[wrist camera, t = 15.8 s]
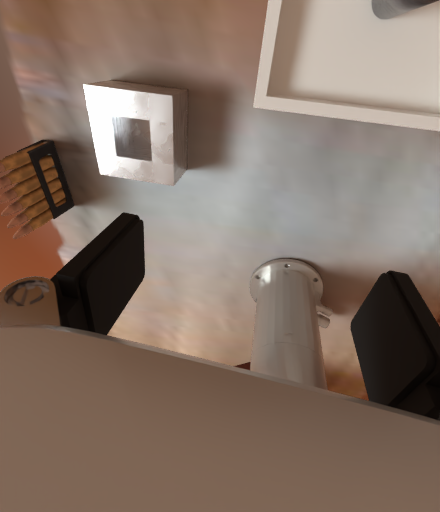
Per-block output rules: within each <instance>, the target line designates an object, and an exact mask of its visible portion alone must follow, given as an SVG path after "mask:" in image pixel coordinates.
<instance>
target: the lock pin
mask: <svg viewBox="0 0 440 512" xmlns="http://www.w3.org/2000/svg"><path fill="white" fill-rule="evenodd" d="M436 1H439V0H372V10H373V13H374V15H375V16H376V17H378V18H379V19H390V18H393V17H395V16H398V15H401V14H404V13H406V12H409V11H412V10H414V9H417V8H420V7H423V6H425V5H428V4H431V3H434V2H436Z"/></svg>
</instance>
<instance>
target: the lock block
mask: <svg viewBox="0 0 440 512" xmlns="http://www.w3.org/2000/svg"><path fill="white" fill-rule="evenodd" d="M84 91H85V96H86V102H87V107H88V112H89V118H90V123H91V129H92V134H93V139H94V145H95V150H96V156H97V161H98V166H99V172H100V174H102V175H108V176H114V177H121V178H127V179H133V180H140V181H146V182H152V183H159V184H165V185H171V186H174V185H175V184H176V183H177V182H178V180H179V179H180V178H181V177H182V175H183V174H184V173H185V172H186V170H187V118H188V90H186V89H178V88H170V87H162V86H154V85H146V84H138V83H130V82H122V81H114V80H108V81H102V82H96V83H90V84H84Z"/></svg>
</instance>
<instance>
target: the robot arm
mask: <svg viewBox="0 0 440 512" xmlns="http://www.w3.org/2000/svg"><path fill="white" fill-rule="evenodd" d="M144 275H145V259H144V226H143V221H142V220H140V219H139V216H138V215H134V214H129V213H122V214H121V215H120V216H119V217H117V218H116V219H115V220H114V221H113V222H112V223H111V224H110V225H109V226H108V227H107V228H105V229H104V230H103V231H102V232H101V233H100V234H99V235H98V236H97V237H96V238H95V239H93V240H92V241H91V242H90V243H89V244H88V245H87V246H86V247H85V248H84V249H82V250H81V251H80V252H79V253H78V254H77V255H76V256H75V257H74V258H73V259H72V260H70V261H69V262H68V263H67V264H66V265H65V266H64V267H63V268H62V269H61V270H60V271H58V272H57V273H56V275H55V276H54V277H52V278H51V279H48V278H44V277H36V276H34V277H26V278H23V279H19V280H17V281H15V282H12V283H10V284H9V285H7V286H6V287H4V288H3V289H2V291H1V292H0V512H440V327H439V325H438V323H437V322H436V320H435V318H434V317H433V315H432V313H431V312H430V310H429V308H428V307H427V305H426V303H425V302H424V300H423V298H422V297H421V295H420V293H419V292H418V290H417V288H416V287H415V285H414V284H413V282H412V280H411V279H410V277H409V276H408V275H407V274H404V273H400V272H395V271H388V272H387V273H383V274H381V275H380V277H379V278H378V280H377V282H376V283H375V285H374V286H373V288H372V289H371V291H370V293H369V294H368V296H367V297H366V299H365V301H364V302H363V304H362V305H361V307H360V309H359V310H358V312H357V313H356V315H355V317H354V318H353V320H352V322H351V332H352V336H353V340H354V344H355V348H356V352H357V356H358V359H359V363H360V367H361V371H362V375H363V379H364V382H365V386H366V390H367V394H368V398H369V401H367V400H363V399H359V398H355V397H352V396H348V395H344V394H340V393H336V392H332V391H328V388H327V382H326V375H325V368H324V361H323V353H322V346H321V339H320V331H319V326H321V327H323V328H327V327H328V326H329V324H330V319H329V318H327V317H325V316H322V315H320V314H317V312H318V311H319V312H322V313H323V314H325V315H327V316H331V314H332V312H333V310H332V309H331V308H329V307H327V306H324V305H322V303H321V302H320V299H321V297H322V294H323V283H322V279H321V277H320V275H319V273H318V272H317V271H316V270H315V269H314V268H313V267H311V266H310V265H308V264H306V263H304V262H302V261H299V260H294V259H277V260H272V261H269V262H267V263H265V264H263V265H261V266H260V267H259V268H257V269H256V271H255V272H254V273H253V275H252V277H251V280H250V294H251V296H252V298H253V300H254V301H255V302H256V303H257V304H256V314H255V324H254V334H253V344H252V354H251V364H250V370H246V369H242V368H238V367H234V366H230V365H226V364H222V363H218V362H214V361H210V360H206V359H202V358H198V357H194V356H190V355H186V354H182V353H178V352H174V351H170V350H166V349H162V348H158V347H154V346H150V345H146V344H142V343H137V342H133V341H129V340H125V339H120V338H116V337H112V336H107V334H108V332H109V331H110V329H111V328H112V326H113V325H114V323H115V322H116V320H117V319H118V317H119V316H120V314H121V313H122V311H123V310H124V308H125V306H126V305H127V303H128V302H129V300H130V299H131V297H132V296H133V294H134V293H135V291H136V290H137V288H138V287H139V285H140V284H141V282H142V280H143V278H144Z"/></svg>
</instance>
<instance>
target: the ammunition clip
mask: <svg viewBox="0 0 440 512" xmlns="http://www.w3.org/2000/svg"><path fill="white" fill-rule="evenodd" d="M20 166H21V167H20ZM18 167H19V168H18ZM11 169H14V170H12V171H11V172H10V173H8V174H6V175H4V176H3V177H1V178H0V189H2V188H5V187H7V186H9V185H12V184H14V183H18V182H20V183H18V184H16V185H15V186H14V187H13V188H11V189H9V190H8V191H6V192H4V193H3V194H1V195H0V203H5V202H8V201H11V200H13V199H15V198H17V197H19V196H22V195H23V196H22V197H21V198H20V199H18V200H17V201H16V202H14V203H12V204H11V205H9V206H8V207H7V208H6V209H5V210H4V211H3V212H2V214H1V216H8V215H11V214H14V213H16V212H18V211H20V210H22V209H24V208H26V207H27V208H26V209H25V210H24V211H23V212H21V213H20V214H19V215H17V216H16V217H15V218H14V219H12V220H11V221H10V223H9V224H8V226H7V227H8V228H12V227H15V226H18V225H20V224H22V223H24V222H25V221H28V220H29V219H31V218H32V219H31V220H30V221H29V222H28V223H26V224H25V225H24V226H23V227H21V228H20V229H19V230H18V231H17V232H16V233H15V235H14V236H13V239H17V238H20V237H23V236H25V235H27V234H28V233H30V232H31V231H33V230H35V229H37V228H39V227H41V226H42V225H44V224H45V223H47V222H48V221H50V220H51V219H52V218H53V219H55V218H57V217H58V216H60V215H61V214H63V213H64V212H66V211H68V210H69V209H71V208H72V207H74V203H73V200H72V197H71V194H70V191H69V188H68V185H67V181H66V178H65V175H64V172H63V169H62V166H61V163H60V160H59V157H58V154H57V151H56V148H55V145H54V142H53V141H49V140H41V141H39V142H36V143H34V144H32V145H30V146H28V147H25V148H23V149H21V150H19V151H17V153H14V154H11V155H9V156H6V157H5V158H3V159H2V160H0V173H1V172H4V171H7V170H11Z"/></svg>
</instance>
